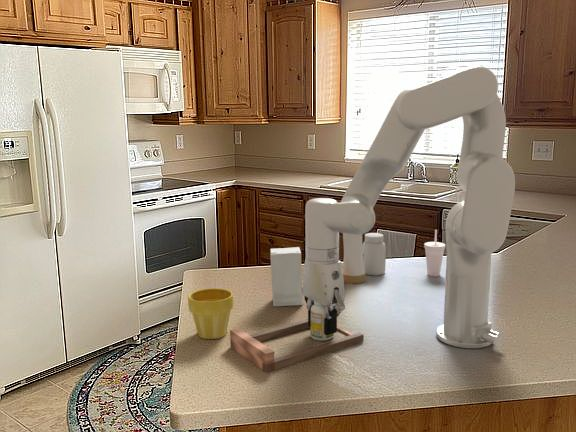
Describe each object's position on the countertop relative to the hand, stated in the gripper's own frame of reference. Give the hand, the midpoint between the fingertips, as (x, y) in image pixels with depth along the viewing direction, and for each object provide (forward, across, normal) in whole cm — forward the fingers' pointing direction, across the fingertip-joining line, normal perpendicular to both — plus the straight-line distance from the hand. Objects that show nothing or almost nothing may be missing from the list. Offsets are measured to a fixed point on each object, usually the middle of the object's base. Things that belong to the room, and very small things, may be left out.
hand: (322, 328), depth 133 cm
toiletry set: (+2, +28, -35) cm, 45 cm away
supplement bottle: (+2, 0, 0) cm, 2 cm away
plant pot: (+2, +16, +20) cm, 26 cm away
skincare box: (+2, +24, -6) cm, 24 cm away
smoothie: (+2, +18, -57) cm, 60 cm away
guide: (+2, 0, +7) cm, 7 cm away
